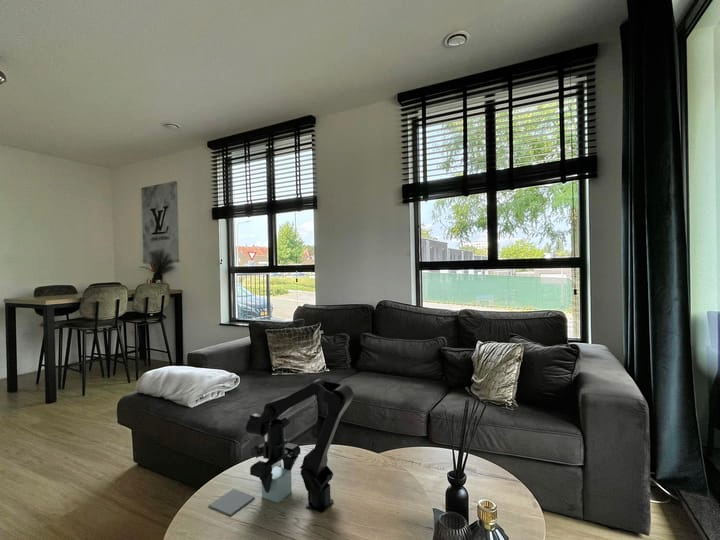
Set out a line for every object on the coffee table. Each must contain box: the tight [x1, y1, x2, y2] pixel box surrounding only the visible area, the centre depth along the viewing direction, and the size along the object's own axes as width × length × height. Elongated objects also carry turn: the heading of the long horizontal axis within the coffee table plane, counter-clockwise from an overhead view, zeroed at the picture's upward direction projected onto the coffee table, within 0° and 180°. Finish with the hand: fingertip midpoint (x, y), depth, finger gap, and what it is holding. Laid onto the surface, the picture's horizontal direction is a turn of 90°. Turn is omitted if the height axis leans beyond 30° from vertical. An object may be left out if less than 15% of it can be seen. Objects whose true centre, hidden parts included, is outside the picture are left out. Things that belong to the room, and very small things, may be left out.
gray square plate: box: [208, 488, 256, 517], centre depth 118 cm, size 10×10×1 cm
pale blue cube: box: [261, 466, 293, 504], centre depth 122 cm, size 7×7×7 cm
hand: (277, 485), depth 121 cm, fingers open, 9 cm apart
